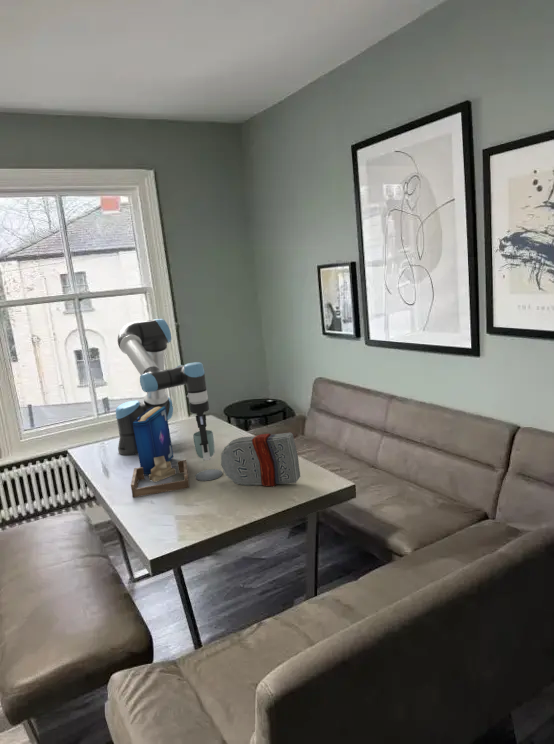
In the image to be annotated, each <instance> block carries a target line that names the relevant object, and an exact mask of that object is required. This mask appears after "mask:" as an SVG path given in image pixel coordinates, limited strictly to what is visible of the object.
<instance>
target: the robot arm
mask: <svg viewBox="0 0 554 744" xmlns="http://www.w3.org/2000/svg"><path fill="white" fill-rule="evenodd" d="M171 341H172V332H171V330H170V327H169V324H168V323H167V321H166V320H165V319H163V318H153V319H147V320H141V321H133V322H129V323H127V324H126V325H124V326H123V327H122V328H121V329H120V331H119V333H118V336H117V344H118V347H119V349H120V351H121V352H122V353H123V354H125V355H126V356H127V357H128V358H129V360H130V361H131V363H132V364H133V366H134V367H135V369H136V370H137V372H138V374H139V375H140V376H139V383H140V387H141V390H142V391H143V392H144V393H146V394H145V396H143V401H141V402H140V401H139V400H137V399H136V400H128V401H126V402H123V403H121V404H119V405H118V406H117V407H116V408H115V419H116V422H117V428H118V434H119V439H118V440H119V441H118V445H117V451H118V454H119V455H121V454H123V456H131V455H136V454H137V455H138V450H137V445H136V439H135V434H134V428H133V422H134V421H135V420H137V419H138V417H139V416H140V415H141V414H142V413H144V412H145V411H146V410H148V409H150V408H151V407H154V408H155V407H158V406H159V407H163V406H165V407H166V413H167V419H168V421H170V420H171V418H172V417H173V413H174V406H173V401H172V399H171V397H169V395H168V394H167V393H166V389H171V388H176V387H180V386H186V390H187V395H186V398H188V403H189V411H190V413H191V414H196V415H195V421H196V423H197V424H196V425H197V428H198V430H199V431H200V436H201V444H200V445H201V446H202V453H203V458H202V459H203V461H209V460H211V457H210V453H209V446H208V440H207V433H206V430H207V415H206V413H207V412H208V411H209V410H210V404H209V403H210V402H209V401H208V400H209V396H208V390H207V383H206V375H205V374H206V372H205V371H206V370H205V369H204V364H203V363H202V362H199V361H195V362H188V363H185V364H180V365H177V366H176V367H171V368H166V369H165V357H164V356H165V354H164V353H165V351H166V350H167V348H168V344H169V343H171ZM204 413H205V414H204Z"/></svg>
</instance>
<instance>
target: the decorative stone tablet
mask: <svg viewBox="0 0 554 744" xmlns="http://www.w3.org/2000/svg"><path fill="white" fill-rule="evenodd" d="M295 442H296V441H295V438H294V434H293V433H292V432H285V433H275V434H272V433H262V434H261V433H260V434H258V435H257V434H256V435H253V436H241V437H238V438H234V439H232V440H231V441H230V442H229V443H228V444H227V445H226V446H224V448H223V450H222V452H221V454H220V466H221V468H222V471H223V472H224V474H225V476H226V477H227V478H228V479H229V480H230V481H232V482H233V483H234V484H236V485H237V484H238V485H242V486H246V487H249V486H263V487H271V486H272V487H273V486H275V485H276V486H277V485H282V484H296V483H297V482H298V481H299V479H300V477H301V470H300V461H299V455H298V451H297V445H296V443H295ZM276 486H275V487H276Z"/></svg>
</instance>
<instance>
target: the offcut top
mask: <svg viewBox="0 0 554 744" xmlns="http://www.w3.org/2000/svg"><path fill="white" fill-rule="evenodd" d="M154 463H155V467H156V470H159V469H164V468H167V466H166V461H165V458H164V456H160V457H155V458H154Z"/></svg>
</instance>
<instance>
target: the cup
mask: <svg viewBox="0 0 554 744" xmlns="http://www.w3.org/2000/svg"><path fill="white" fill-rule="evenodd" d="M206 433H207V440H208V446H209V453H210V458H211V457H212V456H214V454H215V437H214V431H212V430H210V429H209V430H208V429H206ZM192 436H193V445H194V449H195V453H196V455H197V457H199V458H200V459H203V453H202V446H201V445H200V444H201V436H200V431H195V432H194V433H193V434H192Z"/></svg>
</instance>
